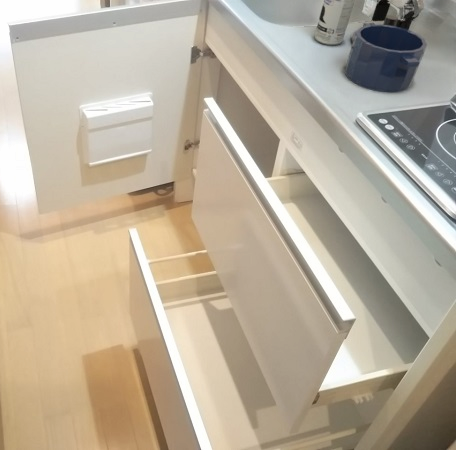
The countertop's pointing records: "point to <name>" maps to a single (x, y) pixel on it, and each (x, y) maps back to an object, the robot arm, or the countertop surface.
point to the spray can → (333, 21)
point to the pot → (384, 57)
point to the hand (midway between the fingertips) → (387, 28)
